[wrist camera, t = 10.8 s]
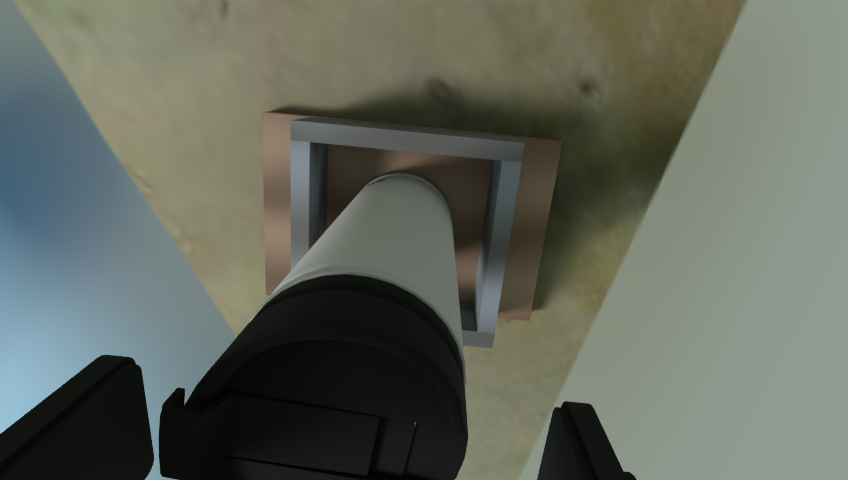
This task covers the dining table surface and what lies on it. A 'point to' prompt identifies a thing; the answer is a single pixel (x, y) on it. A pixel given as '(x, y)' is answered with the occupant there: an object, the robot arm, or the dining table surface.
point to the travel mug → (341, 359)
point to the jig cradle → (446, 167)
